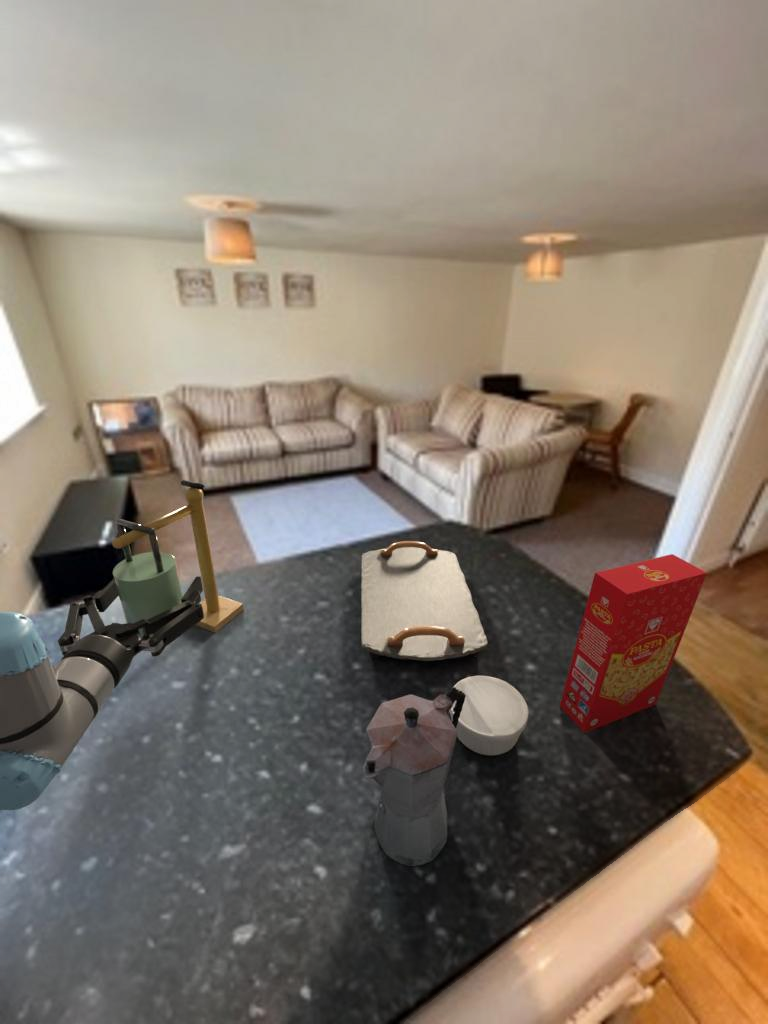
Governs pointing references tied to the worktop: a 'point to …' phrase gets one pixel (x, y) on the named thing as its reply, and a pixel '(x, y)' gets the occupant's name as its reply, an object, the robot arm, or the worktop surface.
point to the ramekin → (490, 715)
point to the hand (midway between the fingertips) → (160, 582)
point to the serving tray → (417, 605)
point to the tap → (214, 605)
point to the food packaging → (629, 638)
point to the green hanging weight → (146, 579)
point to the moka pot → (412, 773)
